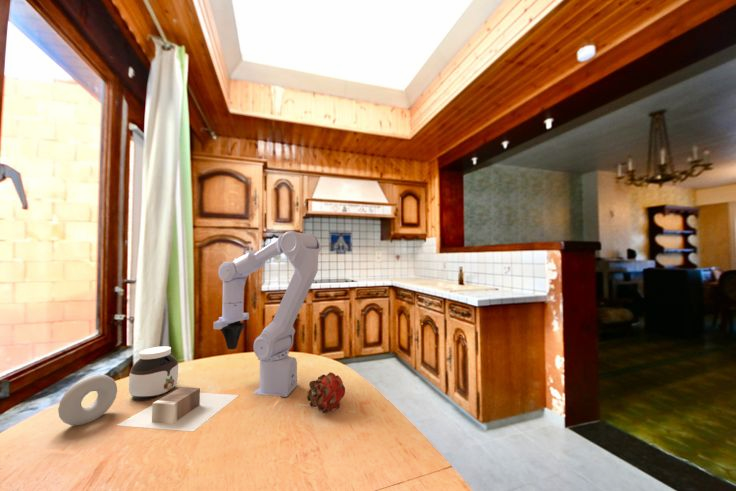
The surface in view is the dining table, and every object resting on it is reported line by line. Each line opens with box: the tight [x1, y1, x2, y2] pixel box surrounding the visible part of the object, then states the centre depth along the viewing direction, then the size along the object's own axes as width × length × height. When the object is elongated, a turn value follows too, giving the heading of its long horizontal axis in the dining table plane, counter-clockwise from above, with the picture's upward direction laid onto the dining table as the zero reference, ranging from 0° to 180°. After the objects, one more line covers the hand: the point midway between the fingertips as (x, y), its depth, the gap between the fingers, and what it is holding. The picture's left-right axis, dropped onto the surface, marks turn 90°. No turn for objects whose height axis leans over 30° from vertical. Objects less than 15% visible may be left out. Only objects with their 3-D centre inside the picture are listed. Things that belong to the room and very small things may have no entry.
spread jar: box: [128, 345, 179, 401], centre depth 77 cm, size 12×11×12 cm
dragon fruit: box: [306, 372, 346, 413], centre depth 69 cm, size 8×8×12 cm
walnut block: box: [152, 386, 201, 424], centre depth 65 cm, size 5×4×8 cm
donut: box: [57, 374, 118, 426], centre depth 63 cm, size 10×4×10 cm, turn 161°
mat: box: [115, 392, 240, 433], centre depth 67 cm, size 18×16×1 cm
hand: (232, 348), depth 84 cm, fingers closed
